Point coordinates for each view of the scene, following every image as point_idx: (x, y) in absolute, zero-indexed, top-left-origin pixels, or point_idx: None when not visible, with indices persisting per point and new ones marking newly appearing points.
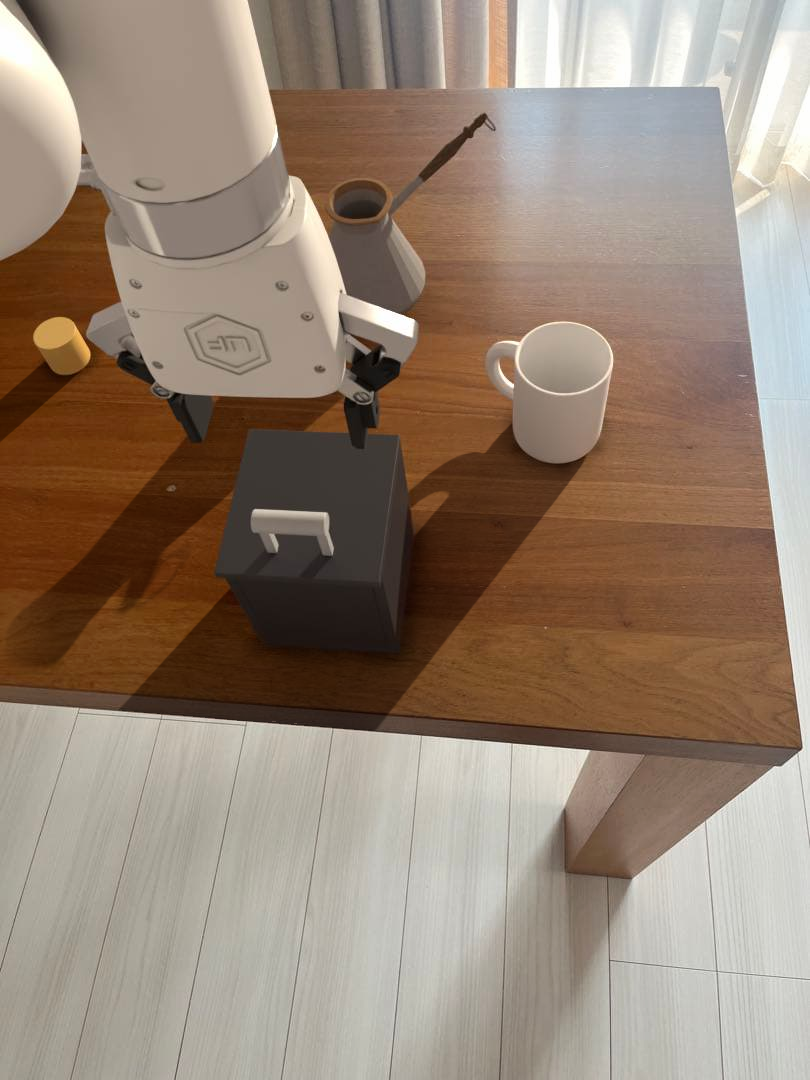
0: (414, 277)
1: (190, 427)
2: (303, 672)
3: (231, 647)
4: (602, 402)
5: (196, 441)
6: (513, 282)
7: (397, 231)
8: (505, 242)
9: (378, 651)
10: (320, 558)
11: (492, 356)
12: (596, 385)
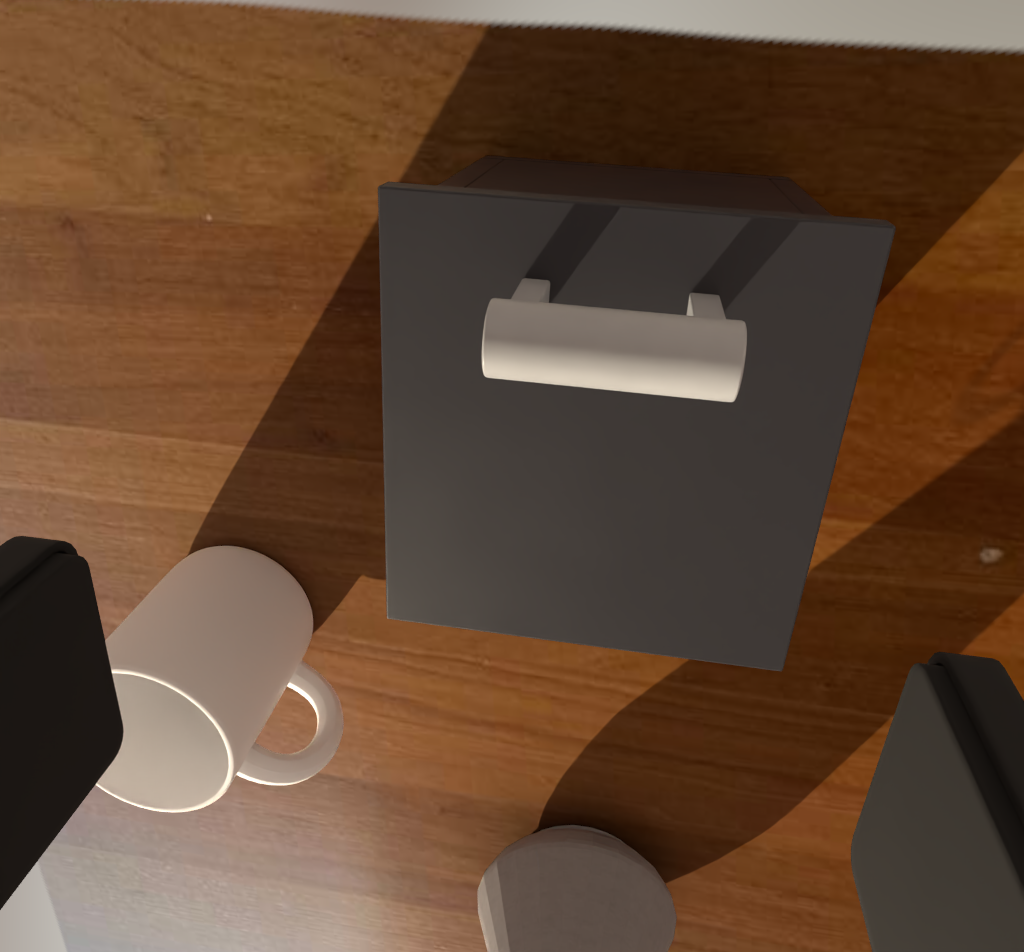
0: (487, 908)
1: (1012, 772)
2: (694, 109)
3: (865, 171)
4: None
5: (963, 665)
6: (346, 861)
7: None
8: (366, 925)
9: (527, 159)
10: (557, 271)
11: (311, 756)
12: None
